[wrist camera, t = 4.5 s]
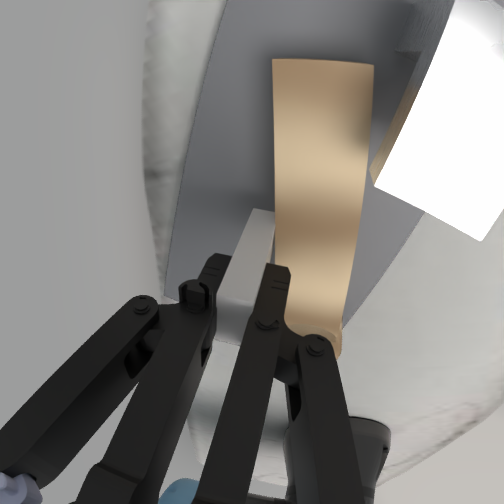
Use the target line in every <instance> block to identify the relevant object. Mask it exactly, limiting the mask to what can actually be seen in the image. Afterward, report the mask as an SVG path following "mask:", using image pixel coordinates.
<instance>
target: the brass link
mask: <svg viewBox="0 0 504 504" xmlns="http://www.w3.org/2000/svg"><path fill="white" fill-rule="evenodd" d="M272 72H273V108H274V159H275V224H276V226H275V264H276V265H281V266H285V267H288V268H289V271H290V273H291V280H290V286H289V291H288V297H287V303H286V308H285V314H284V320H285V323H286V325H287V326H288V328H290V329H291V330H292V331H293V332H295V333H297V334H299V335H301V336H303V337H304V336H305V335H308V334H319V335H321V336H324V337H326V338H327V339H328V340H329V341H330V342H331V344H332V346H333V349H334V353H335V357H336V360H337V359H338V357H339V356H340V354H341V348H342V322H343V310H344V305H345V300H346V296H347V291H348V286H349V281H350V276H351V270H352V265H353V260H354V254H355V248H356V242H357V236H358V230H359V223H360V217H361V210H362V203H363V195H364V188H365V179H366V171H367V162H368V152H369V141H370V129H371V116H372V99H373V77H374V65H371V64H367V63H360V62H351V61H340V60H326V59H306V58H277V59H272Z"/></svg>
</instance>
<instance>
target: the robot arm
mask: <svg viewBox="0 0 504 504" xmlns="http://www.w3.org/2000/svg"><path fill="white" fill-rule="evenodd" d="M275 226H276V224H275V212H271V211H266V210H261V209H256V208H253V210H252V212H251V215H250V217H249V219H248V222H247V224H246V226H245V229H244V231H243V233H242V236H241V238H240V240H239V242H238V245H237V247H236V249H235V252H234V254H233V256H229V255H225V254H220V253H214V254H213V255H212V256H210V257H209V258H208V259H207V261H206V263H205V265H204V267H203V269H202V271H201V273H200V275H199V276H198V278H197V279H191V280H187V281H185V282H183V283H181V285H180V286H179V287H178V291H179V303H176V304H161V305H158V303H157V301H156V300H155V299H154V298H153V297H150V296H147V295H139V296H136V297H133V298H132V299H131V300H129V301H128V302H127V303H126V304H125V305H124V306H122V307H121V309H119V310H118V311H117V312H116V313H115V314H114V315H113V316H112V317H111V318H110V319H109V320H108V321H107V322H106V323H105V324H103V325H102V326H101V327H100V328H99V329H98V330H97V331H96V332H95V333H94V334H93V335H92V336H91V337H90V338H89V339H88V340H87V341H86V342H85V343H84V344H83V345H82V346H81V347H80V348H79V349H78V350H77V351H76V352H75V353H74V354H73V355H72V356H71V357H70V358H69V359H68V360H67V361H66V362H65V363H64V364H63V365H62V366H61V367H60V368H59V369H58V370H57V371H56V372H55V373H54V374H53V375H52V376H51V377H50V378H49V379H48V380H47V381H46V382H45V383H44V384H43V385H42V386H41V387H40V388H39V389H38V390H37V391H36V392H35V393H34V394H33V396H32V397H30V398H29V400H28V401H27V402H26V403H25V404H24V405H23V406H22V407H21V408H20V409H19V410H18V411H17V412H16V413H15V414H14V416H13V417H12V418H11V419H10V420H9V421H8V422H7V423H6V424H5V425H4V426H3V427H2V429H1V430H0V504H41V502H42V495H41V493H40V491H39V490H40V489H42V488H43V487H45V486H47V485H48V484H49V483H51V482H52V481H53V480H54V479H55V478H56V477H57V476H58V475H59V474H60V473H61V472H62V471H63V470H64V469H65V468H66V466H67V465H68V464H69V463H70V462H71V461H72V459H73V458H74V457H75V456H76V455H77V453H78V452H79V451H80V450H81V449H82V448H83V446H84V445H85V444H86V443H87V442H88V441H89V439H90V438H91V437H92V436H93V435H94V434H95V432H96V431H97V430H98V429H99V428H100V427H101V425H102V424H103V423H104V422H105V421H106V419H107V418H108V417H109V416H110V415H111V413H112V412H113V411H114V410H115V409H116V408H117V407H118V405H119V404H120V403H121V402H122V401H123V400H124V398H125V397H126V396H127V395H128V394H129V393H130V391H131V390H132V389H133V388H134V386H136V384H137V383H138V382H139V383H138V385H137V387H136V389H135V392H134V393H133V395H132V397H131V399H130V402H129V404H128V406H127V408H126V410H125V412H124V414H123V416H122V418H121V421H120V423H119V425H118V427H117V429H116V431H115V434H114V435H113V438H112V440H111V442H110V444H109V447H108V449H107V451H106V453H105V455H104V457H103V459H102V460H101V461H100V462H99V463H97V464H95V465H94V466H93V467H92V468H91V469H90V471H89V472H88V474H87V476H86V479H85V481H84V483H83V485H82V488H81V490H80V492H79V494H78V497H77V499H76V501H75V502H72V503H69V504H373V503H374V493H375V486H376V482H377V480H378V478H379V475H380V473H381V471H382V468H383V466H384V463H385V461H386V458H387V455H388V453H389V450H390V442H391V433H390V430H389V429H388V428H387V427H385V426H384V425H382V424H380V423H377V422H374V421H370V420H365V419H359V418H349V414H348V410H347V405H346V401H345V396H344V391H343V387H342V383H341V378H340V374H339V370H338V365H337V361H336V357H335V353H334V349H333V346H332V344H331V342H330V341H329V340H328V339H327V338H326V337H324V336H321V335H319V334H308V335H305V336H304V337H303V336H301V335H299V334H297V333H295V332H293V331H292V330H291V329H290V328H288V326H287V325H286V323H285V320H284V314H285V308H286V303H287V297H288V291H289V286H290V280H291V273H290V271H289V268H288V267H285V266H281V265H276V264H271V263H270V260H271V256H272V251H273V245H274V240H275ZM214 336H215V340H218V341H222V342H226V343H230V344H234V345H238V346H240V349H239V353H238V356H237V360H236V363H235V366H234V370H233V373H232V376H231V380H230V383H229V386H228V390H227V393H226V396H225V400H224V403H223V406H222V410H221V413H220V416H219V420H218V423H217V426H216V430H215V433H214V436H213V439H212V443H211V446H210V449H209V452H208V456H207V459H206V462H205V465H204V469H203V472H202V475H201V478H200V481H197V480H193V479H188V478H182V479H179V480H177V481H175V482H173V483H172V484H171V485H170V486H169V487H168V488H167V489H166V490H165V492H164V493H163V494H162V496H161V497H160V498H159V492H160V489H161V486H162V483H163V480H164V478H165V475H166V472H167V470H168V467H169V464H170V461H171V459H172V456H173V453H174V451H175V448H176V445H177V443H178V440H179V437H180V434H181V432H182V429H183V426H184V424H185V421H186V418H187V416H188V413H189V410H190V407H191V405H192V402H193V399H194V397H195V394H196V391H197V389H198V386H199V383H200V380H201V378H202V375H203V372H204V370H205V367H206V364H207V362H208V359H209V356H210V354H211V351H212V341H213V339H214ZM273 378H276V379H278V380H279V381H281V382H283V383H285V391H286V400H287V409H288V418H289V428H288V429H287V430H286V433H285V438H284V443H283V450H284V456H285V463H286V470H287V476H288V487H287V492H286V496H285V499H279V498H273V497H267V496H262V495H256V494H252V493H248V490H249V486H250V482H251V478H252V474H253V470H254V465H255V461H256V457H257V452H258V448H259V444H260V439H261V435H262V430H263V426H264V421H265V416H266V412H267V407H268V402H269V397H270V392H271V387H272V383H273Z"/></svg>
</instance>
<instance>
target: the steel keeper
mask: <svg viewBox="0 0 504 504" xmlns="http://www.w3.org/2000/svg"><path fill="white" fill-rule="evenodd" d="M394 52H396V53H398V54H400V55H402V56H404V57H406V58H408V59H410V60H412V61H414V62H416V63H417V64H416V67H415V69H414V71H413V74H412V76H411V78H410V81H409V83H408V86H407V88H406V90H405V92H404V95H403V97H402V99H401V102H400V104H399V106H398V108H397V111H396V113H395V115H394V117H393V119H392V122H391V124H390V126H389V128H388V130H387V132H386V135H385V137H384V139H383V141H382V143H381V145H380V147H379V149H378V151H377V154H376V156H375V158H374V160H373V162H372V164H371V166H370V168H369V171H370V174H371V177H372V181H373V184H374V186H375V187H377V188H379V189H381V190H383V191H386V192H388V193H390V194H392V195H394V196H396V197H398V198H400V199H402V200H404V201H406V202H408V203H410V204H412V205H414V206H416V207H418V208H420V209H422V210H424V211H426V212H428V213H430V214H432V215H434V216H435V217H437V218H439V219H441V220H443V221H445V222H447V223H448V224H450V225H452V226H454V227H456V228H457V229H459V230H461V231H463V232H464V233H466V234H468V235H470V236H471V237H473V238H475V239H477V240H478V241H480V242H481V241H482V240H483V238H484V237H485V235H486V234H487V232H488V231H489V229H490V228H491V226H492V225H493V223H494V222H495V220H496V219H497V217H498V216H499V214H500V213H501V211H502V210H503V208H504V8H503V7H501V6H500V5H499V4H497V3H496V2H495V1H493V0H418V1H416V2H414V3H412V5H411V8H410V11H409V13H408V16H407V19H406V21H405V24H404V26H403V29H402V32H401V34H400V37H399V39H398V42H397V44H396V47H395V49H394Z"/></svg>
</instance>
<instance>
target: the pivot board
mask: <svg viewBox="0 0 504 504" xmlns="http://www.w3.org/2000/svg"><path fill="white" fill-rule="evenodd" d="M416 1H418V0H228V1H227V4H226V7H225V10H224V13H223V16H222V19H221V23H220V26H219V29H218V33H217V36H216V39H215V43H214V46H213V50H212V53H211V57H210V60H209V64H208V68H207V72H206V75H205V79H204V83H203V87H202V91H201V95H200V99H199V103H198V107H197V111H196V116H195V120H194V124H193V129H192V133H191V138H190V142H189V147H188V152H187V156H186V161H185V166H184V171H183V176H182V182H181V187H180V192H179V198H178V203H177V209H176V215H175V221H174V227H173V233H172V239H171V246H170V253H169V260H168V267H167V274H166V282H165V289H164V296H166V297H169V298H171V299H174V300H176V301H178V302H179V291H178V287H179V286H180V285H181V283H183V282H185V281H187V280H191V279H197V278H198V276H199V275H200V273H201V271H202V269H203V267H204V265H205V263H206V261H207V259H208V258H209V257H210V256H212V255H213V254H214V253H220V254H225V255H229V256H233V254H234V252H235V249H236V247H237V245H238V242H239V240H240V238H241V236H242V233H243V231H244V229H245V226H246V224H247V222H248V219H249V217H250V215H251V212H252V210H253V208H256V209H261V210H266V211H271V212H275V159H274V108H273V72H272V59H277V58H306V59H326V60H340V61H351V62H360V63H367V64H371V65H374V77H373V99H372V116H371V129H370V141H369V152H368V162H367V171H366V179H365V188H364V195H363V203H362V210H361V217H360V223H359V230H358V236H357V242H356V248H355V254H354V260H353V265H352V270H351V276H350V281H349V286H348V291H347V296H346V300H345V305H344V310H343V322H342V329H343V327H344V326H345V325H346V324H347V322H348V321H349V320H350V319H351V317H352V316H353V315H354V313H355V312H356V311H357V309H358V308H359V307H360V306H361V304H362V303H363V302H364V300H365V299H366V298H367V296H368V295H369V293H370V292H371V291H372V289H373V288H374V287H375V285H376V284H377V283H378V281H379V280H380V278H381V277H382V276H383V274H384V273H385V271H386V270H387V268H388V267H389V266H390V264H391V263H392V261H393V260H394V258H395V257H396V255H397V254H398V252H399V251H400V249H401V248H402V246H403V245H404V243H405V242H406V240H407V239H408V237H409V236H410V234H411V233H412V231H413V229H414V228H415V226H416V225H417V223H418V222H419V220H420V218H421V217H422V215H423V214H424V212H425V211H424V210H422V209H420V208H418V207H416V206H414V205H412V204H410V203H408V202H406V201H404V200H402V199H400V198H398V197H396V196H394V195H392V194H390V193H388V192H386V191H383V190H381V189H379V188H377V187H375V186H374V184H373V181H372V177H371V174H370V171H369V168H370V166H371V164H372V162H373V160H374V158H375V156H376V154H377V151H378V149H379V147H380V145H381V143H382V141H383V139H384V137H385V135H386V132H387V130H388V128H389V126H390V124H391V122H392V119H393V117H394V115H395V113H396V111H397V108H398V106H399V104H400V102H401V99H402V97H403V95H404V92H405V90H406V88H407V86H408V83H409V81H410V78H411V76H412V74H413V71H414V69H415V67H416V64H417V63H416V62H414V61H412V60H410V59H408V58H406V57H404V56H402V55H400V54H398V53H396V52H394V49H395V47H396V44H397V42H398V39H399V37H400V34H401V32H402V29H403V26H404V24H405V21H406V19H407V16H408V13H409V11H410V8H411V5H412V3H414V2H416ZM493 1H495V2H496V3H497V4H499V5H500V6H501V7H503V8H504V0H493ZM270 263H271V264H275V240H274V245H273V251H272V256H271V260H270Z"/></svg>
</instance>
